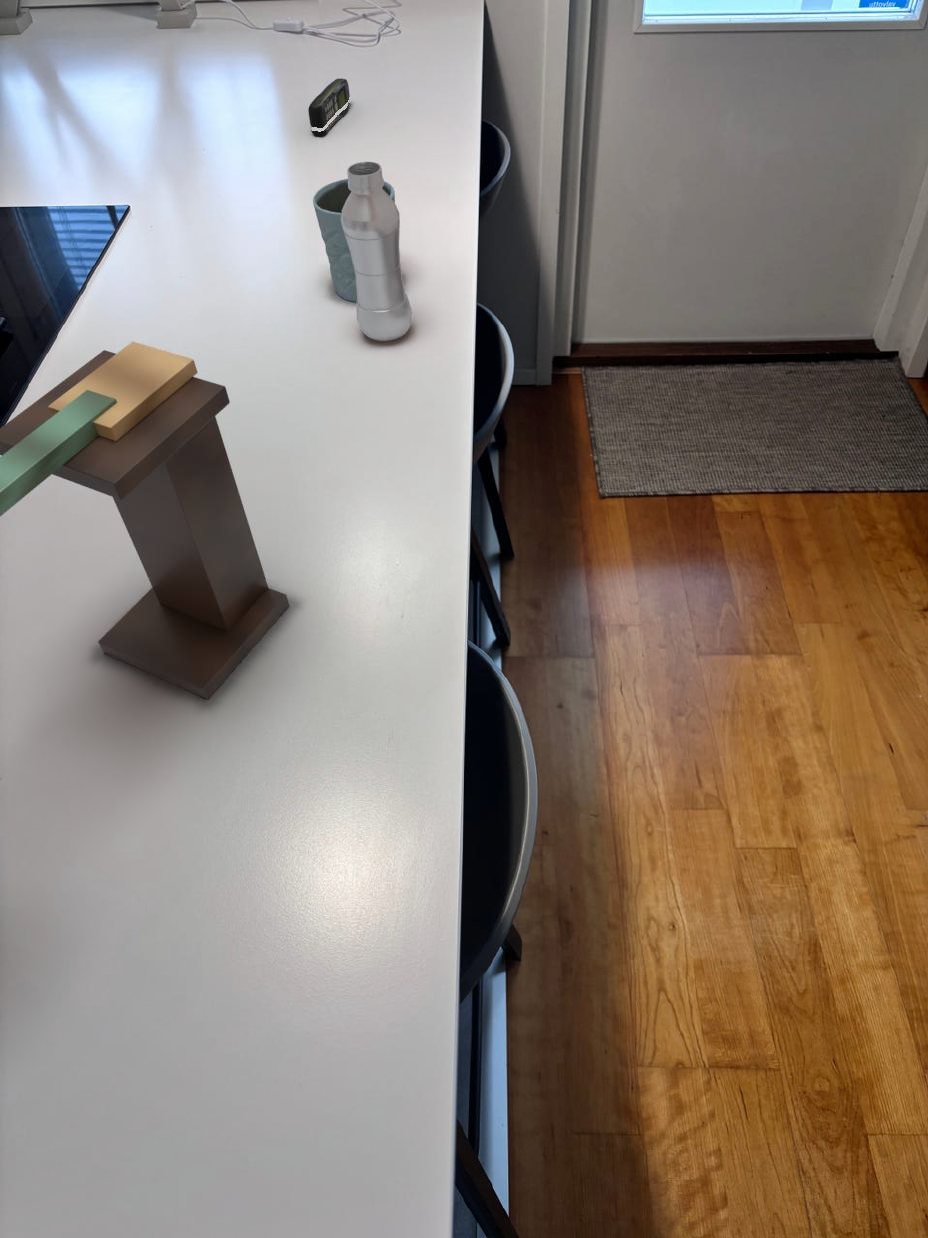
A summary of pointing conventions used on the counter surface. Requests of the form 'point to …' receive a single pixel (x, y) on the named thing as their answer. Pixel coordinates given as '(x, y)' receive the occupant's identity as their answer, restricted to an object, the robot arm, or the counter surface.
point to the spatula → (93, 414)
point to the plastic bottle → (375, 254)
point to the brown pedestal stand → (175, 535)
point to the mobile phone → (329, 105)
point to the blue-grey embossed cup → (338, 235)
